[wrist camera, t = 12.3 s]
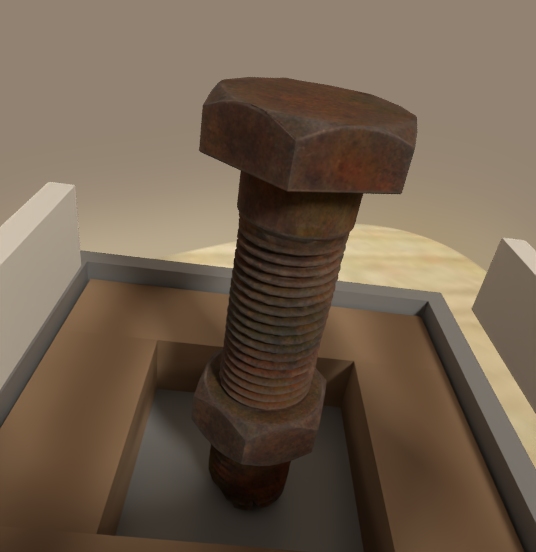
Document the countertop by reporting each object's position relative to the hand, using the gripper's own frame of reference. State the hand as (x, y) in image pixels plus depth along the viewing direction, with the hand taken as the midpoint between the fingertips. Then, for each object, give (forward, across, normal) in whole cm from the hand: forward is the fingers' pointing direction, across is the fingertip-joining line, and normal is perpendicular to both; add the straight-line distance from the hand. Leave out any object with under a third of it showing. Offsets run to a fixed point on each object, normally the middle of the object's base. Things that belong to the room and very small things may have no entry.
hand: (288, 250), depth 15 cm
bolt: (-1, 0, -10) cm, 10 cm away
